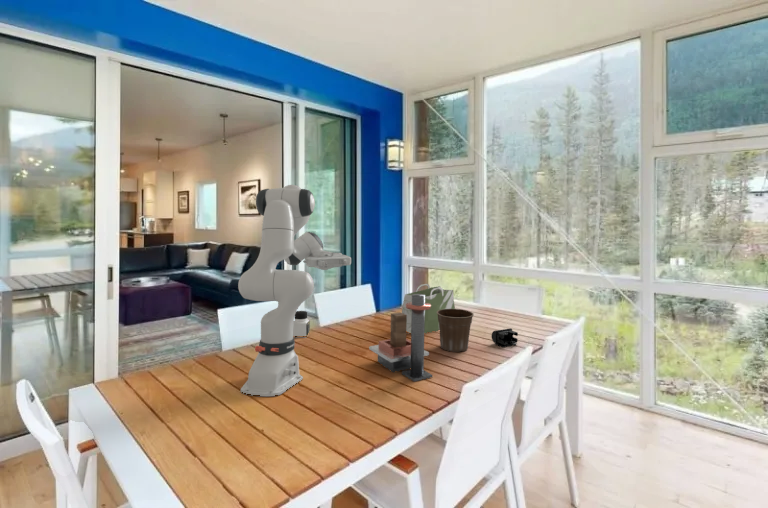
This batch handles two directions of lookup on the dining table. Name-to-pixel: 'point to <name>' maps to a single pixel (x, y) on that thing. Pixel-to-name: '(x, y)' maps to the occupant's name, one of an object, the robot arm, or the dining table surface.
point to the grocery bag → (438, 302)
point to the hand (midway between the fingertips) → (335, 263)
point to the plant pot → (454, 329)
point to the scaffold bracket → (408, 345)
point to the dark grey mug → (504, 337)
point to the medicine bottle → (301, 324)
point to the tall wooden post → (398, 329)
